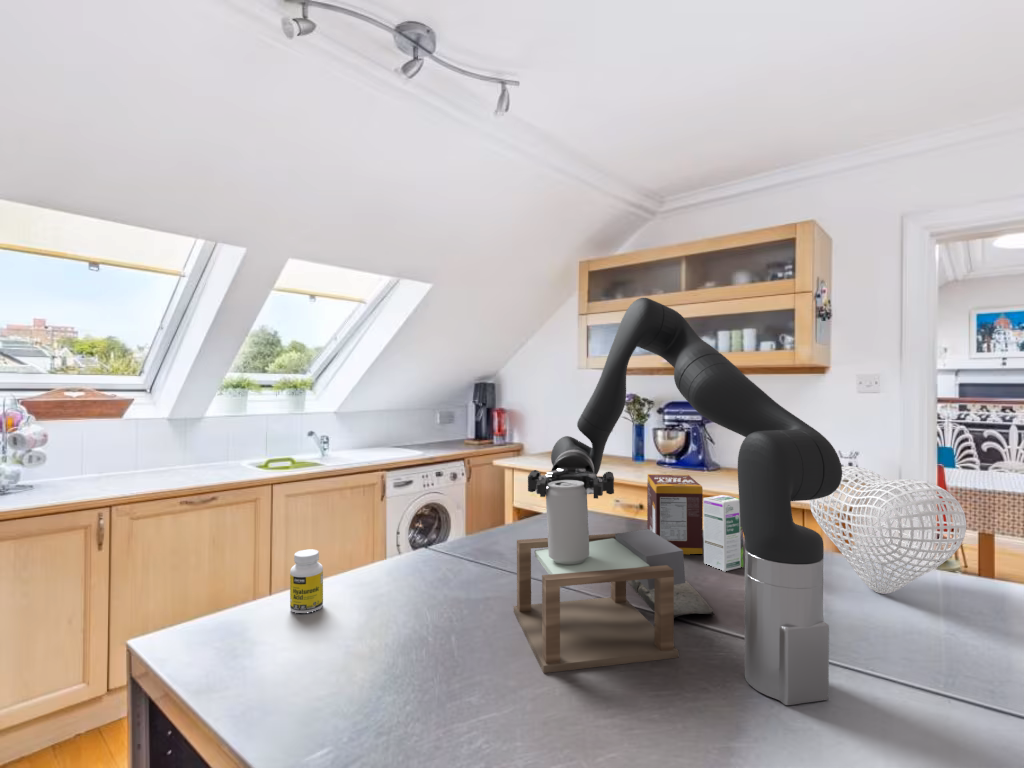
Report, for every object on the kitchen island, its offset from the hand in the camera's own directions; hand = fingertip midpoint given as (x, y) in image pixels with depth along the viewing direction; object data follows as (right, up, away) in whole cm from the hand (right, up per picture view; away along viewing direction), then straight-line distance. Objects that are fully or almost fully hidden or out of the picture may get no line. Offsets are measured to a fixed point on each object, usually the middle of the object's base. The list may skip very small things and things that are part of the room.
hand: (569, 491), depth 84 cm
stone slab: (+19, -23, +21) cm, 37 cm away
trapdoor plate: (+7, -15, +4) cm, 17 cm away
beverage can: (0, -11, +2) cm, 12 cm away
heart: (+59, -23, +19) cm, 66 cm away
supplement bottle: (-44, -23, +13) cm, 52 cm away
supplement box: (+30, -22, +48) cm, 61 cm away
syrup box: (+36, -22, +33) cm, 54 cm away
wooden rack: (+3, -23, +3) cm, 23 cm away
